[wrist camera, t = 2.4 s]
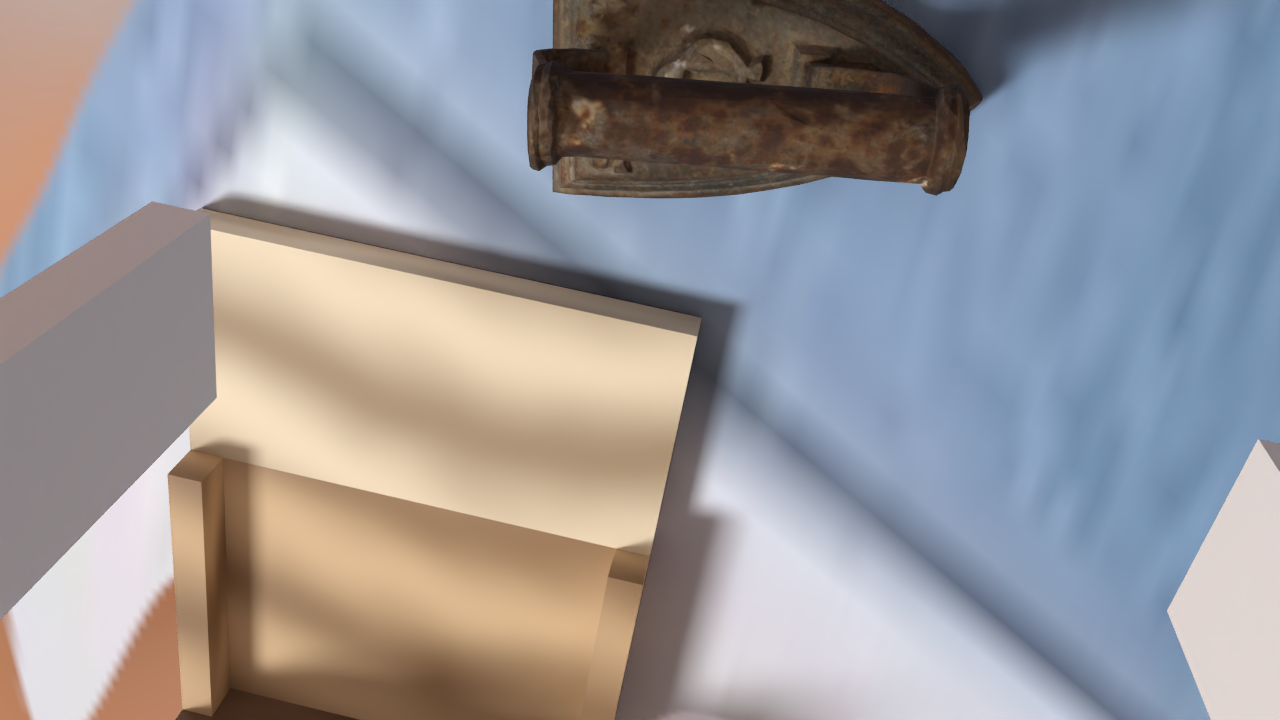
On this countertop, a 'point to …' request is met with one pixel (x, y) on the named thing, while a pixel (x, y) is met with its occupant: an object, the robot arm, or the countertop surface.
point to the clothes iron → (743, 98)
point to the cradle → (416, 487)
